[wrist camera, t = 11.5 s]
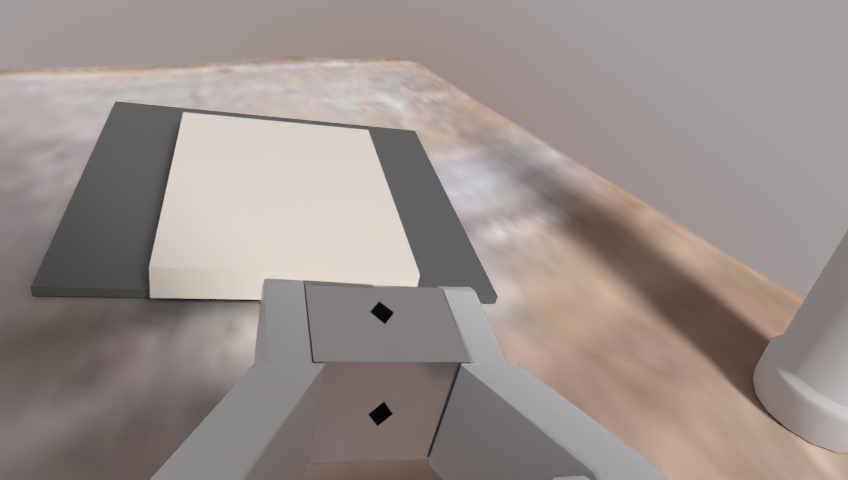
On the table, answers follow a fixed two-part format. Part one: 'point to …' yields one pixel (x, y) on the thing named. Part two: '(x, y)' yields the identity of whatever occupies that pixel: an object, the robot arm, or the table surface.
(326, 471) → the table surface
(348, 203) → the tile
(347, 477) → the table surface
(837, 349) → the bottle
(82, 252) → the mat
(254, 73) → the table surface
